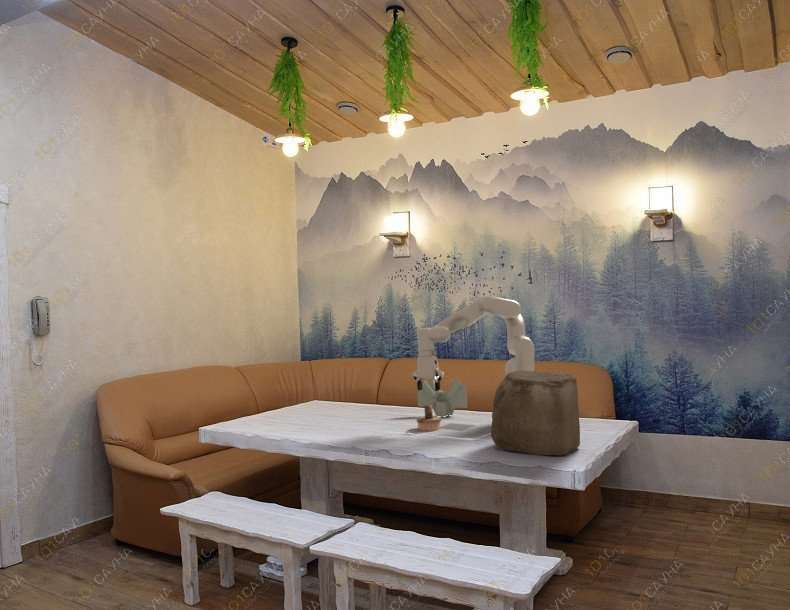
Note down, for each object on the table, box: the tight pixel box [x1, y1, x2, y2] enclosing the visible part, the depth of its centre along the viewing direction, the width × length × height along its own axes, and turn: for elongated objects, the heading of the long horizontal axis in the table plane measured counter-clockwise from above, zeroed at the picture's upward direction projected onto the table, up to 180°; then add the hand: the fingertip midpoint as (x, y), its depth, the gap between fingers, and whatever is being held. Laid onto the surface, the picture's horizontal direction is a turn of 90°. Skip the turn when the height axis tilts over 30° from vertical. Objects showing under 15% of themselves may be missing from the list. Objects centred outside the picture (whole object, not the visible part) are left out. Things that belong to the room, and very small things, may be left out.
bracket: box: [416, 378, 468, 417], centre depth 338 cm, size 28×7×20 cm, turn 67°
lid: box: [416, 405, 442, 423], centre depth 300 cm, size 12×12×7 cm
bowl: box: [417, 421, 441, 432], centre depth 300 cm, size 10×10×4 cm
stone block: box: [490, 370, 581, 456], centre depth 254 cm, size 35×25×30 cm
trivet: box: [439, 422, 477, 431], centre depth 303 cm, size 14×14×1 cm
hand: (428, 390), depth 300 cm, fingers open, 9 cm apart
